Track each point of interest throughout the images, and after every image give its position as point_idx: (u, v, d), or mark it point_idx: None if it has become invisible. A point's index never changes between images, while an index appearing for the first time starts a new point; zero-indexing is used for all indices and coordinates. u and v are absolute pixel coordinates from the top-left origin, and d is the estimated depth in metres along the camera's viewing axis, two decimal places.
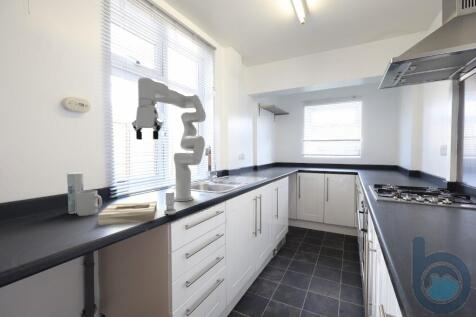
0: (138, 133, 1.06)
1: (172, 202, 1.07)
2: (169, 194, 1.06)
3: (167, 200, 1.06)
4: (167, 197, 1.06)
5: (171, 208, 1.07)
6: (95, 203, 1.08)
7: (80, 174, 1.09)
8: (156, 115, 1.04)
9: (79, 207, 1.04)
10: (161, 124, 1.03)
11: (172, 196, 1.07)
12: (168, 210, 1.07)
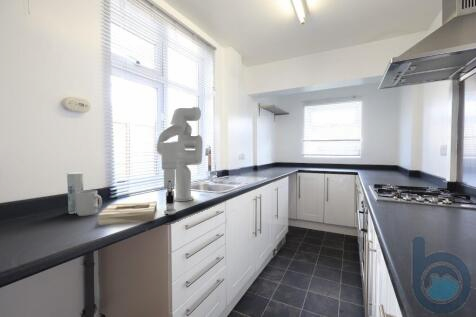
0: None
1: None
2: None
3: None
4: None
5: (171, 208, 1.07)
6: (95, 203, 1.08)
7: (80, 174, 1.09)
8: None
9: (79, 207, 1.04)
10: None
11: None
12: (168, 210, 1.07)
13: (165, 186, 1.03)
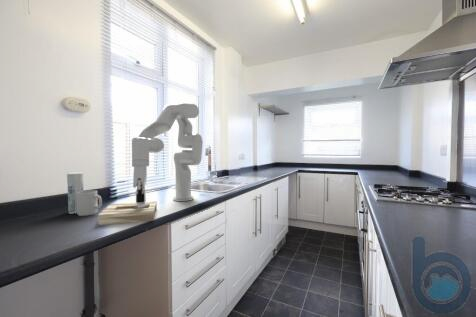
0: None
1: None
2: None
3: None
4: None
5: (142, 207, 1.03)
6: (95, 203, 1.08)
7: (80, 174, 1.09)
8: None
9: (79, 207, 1.04)
10: None
11: None
12: None
13: (134, 184, 0.99)
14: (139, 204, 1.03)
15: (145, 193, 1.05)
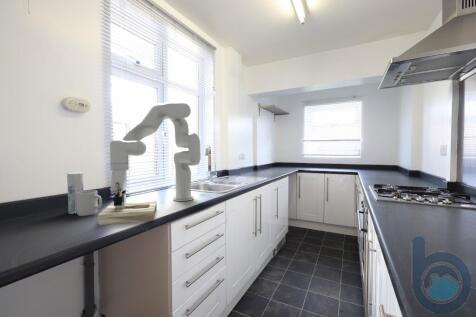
0: None
1: (122, 205, 1.00)
2: None
3: None
4: None
5: None
6: (95, 203, 1.08)
7: (80, 174, 1.09)
8: None
9: (79, 207, 1.04)
10: None
11: None
12: None
13: (112, 188, 0.96)
14: None
15: (125, 197, 1.02)
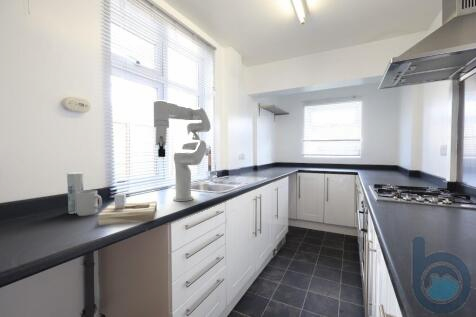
0: None
1: (122, 205, 1.00)
2: (118, 197, 1.00)
3: (116, 203, 1.00)
4: (116, 200, 0.99)
5: None
6: (95, 203, 1.08)
7: (80, 174, 1.09)
8: None
9: (79, 207, 1.04)
10: None
11: (121, 199, 1.00)
12: None
13: (157, 141, 1.09)
14: None
15: (125, 197, 1.02)
